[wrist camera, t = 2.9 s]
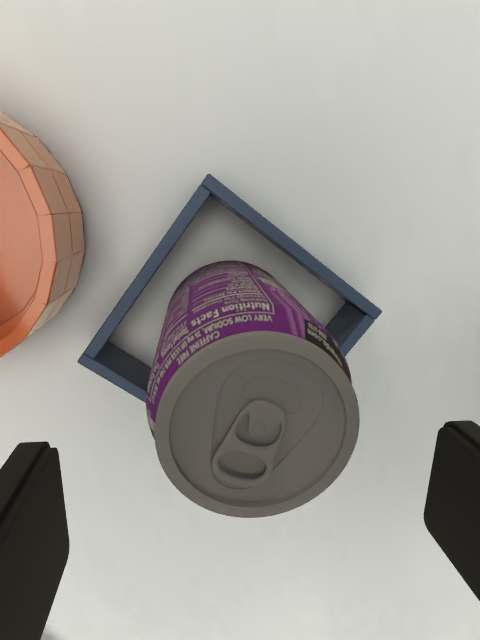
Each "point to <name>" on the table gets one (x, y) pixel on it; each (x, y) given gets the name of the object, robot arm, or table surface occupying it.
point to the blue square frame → (100, 351)
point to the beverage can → (248, 395)
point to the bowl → (34, 235)
